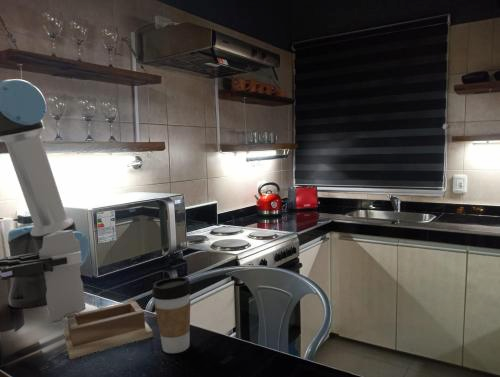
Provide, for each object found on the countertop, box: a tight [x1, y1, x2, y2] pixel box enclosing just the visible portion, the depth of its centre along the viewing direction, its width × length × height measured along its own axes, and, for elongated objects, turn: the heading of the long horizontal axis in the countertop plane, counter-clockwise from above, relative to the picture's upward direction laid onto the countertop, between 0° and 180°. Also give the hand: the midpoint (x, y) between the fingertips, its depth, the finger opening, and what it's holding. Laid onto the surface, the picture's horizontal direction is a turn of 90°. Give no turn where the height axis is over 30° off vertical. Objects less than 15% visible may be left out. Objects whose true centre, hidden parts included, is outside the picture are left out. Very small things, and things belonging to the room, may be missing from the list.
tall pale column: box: [39, 230, 87, 324], centre depth 103 cm, size 11×4×22 cm, turn 144°
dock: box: [63, 300, 154, 360], centre depth 97 cm, size 14×18×6 cm
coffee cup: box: [151, 276, 192, 354], centre depth 90 cm, size 8×8×15 cm
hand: (79, 254), depth 104 cm, fingers open, 5 cm apart
